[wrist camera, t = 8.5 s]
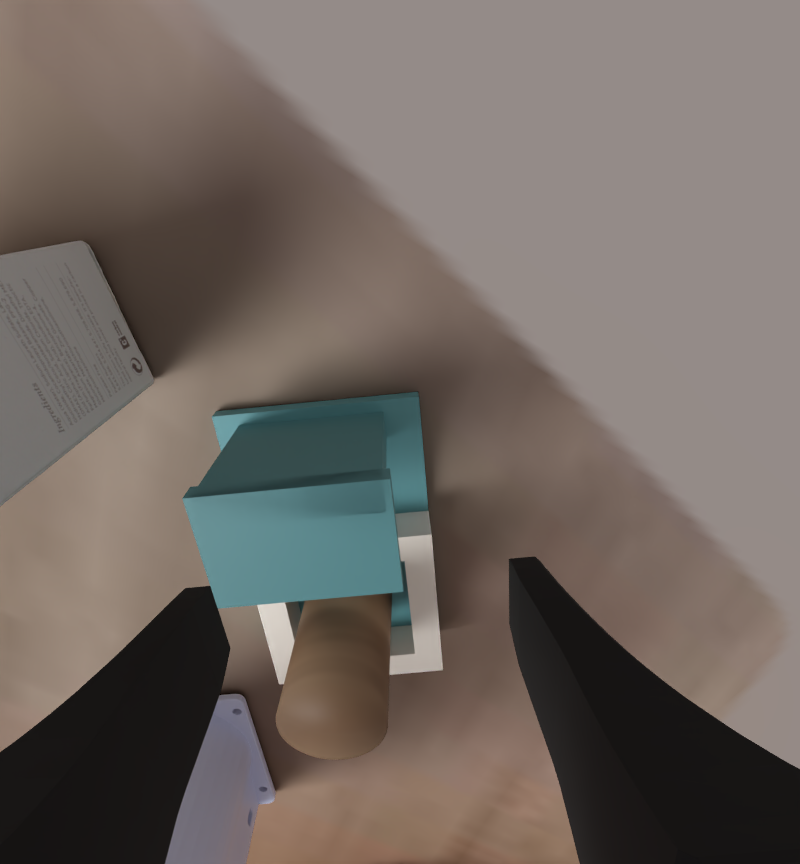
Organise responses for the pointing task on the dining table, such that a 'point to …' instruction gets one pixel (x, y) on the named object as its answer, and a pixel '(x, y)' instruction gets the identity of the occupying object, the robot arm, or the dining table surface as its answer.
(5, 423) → the skincare box
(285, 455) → the station
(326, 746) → the peg
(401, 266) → the dining table surface
